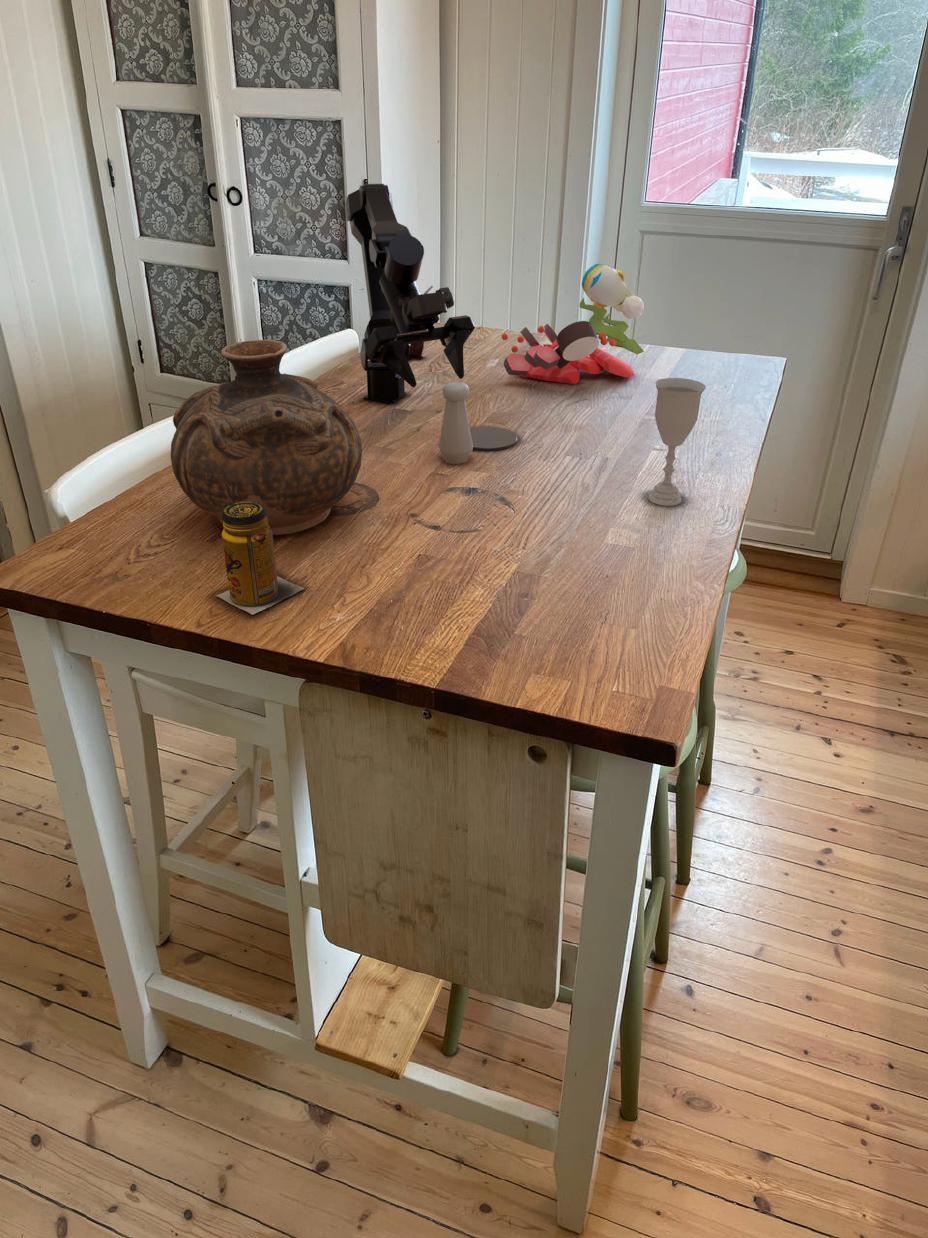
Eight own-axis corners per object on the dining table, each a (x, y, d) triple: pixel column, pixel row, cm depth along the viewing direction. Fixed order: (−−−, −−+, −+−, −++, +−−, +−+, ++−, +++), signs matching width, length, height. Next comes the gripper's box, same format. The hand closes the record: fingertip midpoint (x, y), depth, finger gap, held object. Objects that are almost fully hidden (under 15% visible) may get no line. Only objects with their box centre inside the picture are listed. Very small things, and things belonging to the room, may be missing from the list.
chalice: (691, 493, 147) (708, 381, 138) (685, 511, 142) (703, 394, 133) (645, 487, 149) (658, 375, 140) (637, 503, 144) (651, 388, 135)
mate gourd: (388, 359, 209) (386, 289, 201) (403, 350, 215) (402, 282, 207) (419, 363, 206) (418, 292, 199) (433, 354, 213) (433, 285, 205)
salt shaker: (474, 454, 161) (475, 379, 154) (471, 466, 156) (472, 390, 149) (440, 452, 161) (440, 377, 154) (436, 465, 156) (436, 388, 150)
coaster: (445, 444, 164) (445, 442, 164) (469, 425, 173) (469, 422, 173) (503, 454, 161) (503, 452, 160) (525, 434, 169) (525, 431, 169)
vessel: (287, 573, 123) (257, 384, 111) (142, 533, 136) (101, 361, 124) (406, 500, 143) (392, 333, 130) (269, 471, 156) (244, 317, 143)
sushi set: (546, 412, 183) (465, 341, 192) (605, 433, 208) (531, 370, 217) (639, 284, 172) (549, 216, 181) (689, 323, 198) (608, 262, 207)
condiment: (215, 596, 118) (203, 509, 112) (268, 572, 124) (258, 488, 118) (252, 616, 114) (241, 527, 108) (305, 590, 120) (297, 504, 114)
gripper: (369, 276, 147) (406, 363, 145) (470, 265, 156) (505, 347, 153) (350, 317, 157) (383, 399, 154) (445, 304, 165) (478, 382, 163)
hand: (438, 381), depth 156 cm, fingers open, 9 cm apart
